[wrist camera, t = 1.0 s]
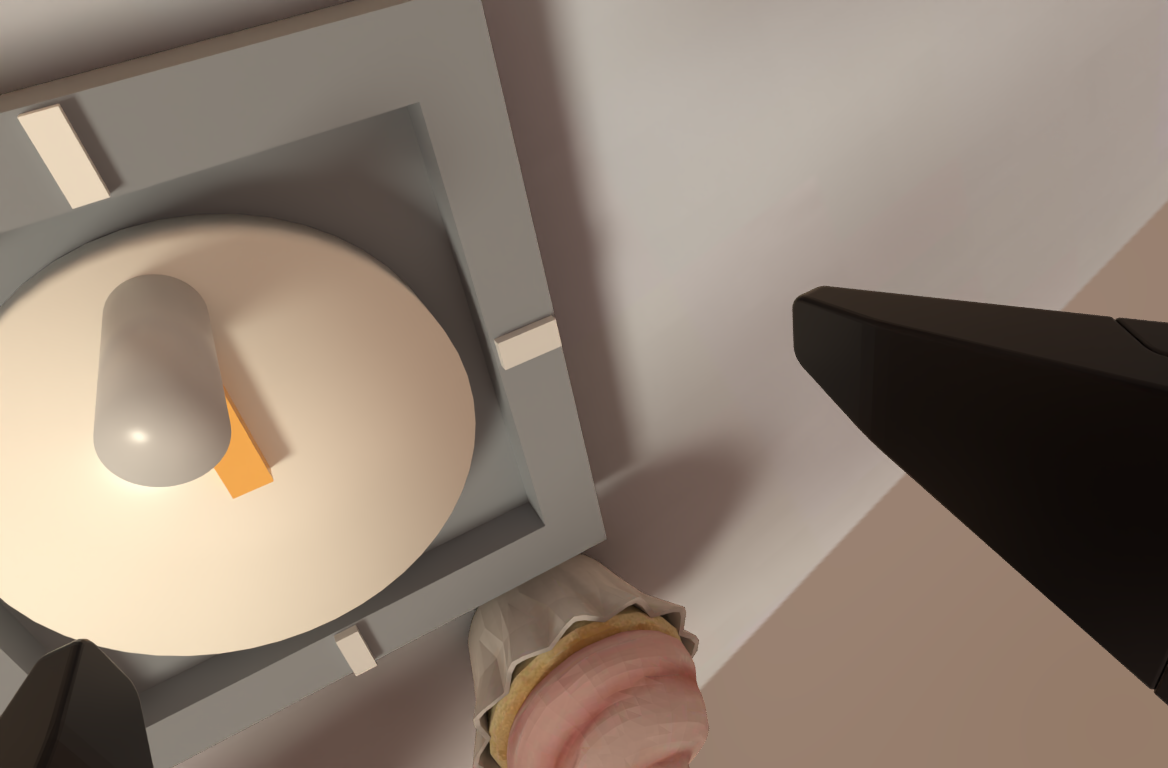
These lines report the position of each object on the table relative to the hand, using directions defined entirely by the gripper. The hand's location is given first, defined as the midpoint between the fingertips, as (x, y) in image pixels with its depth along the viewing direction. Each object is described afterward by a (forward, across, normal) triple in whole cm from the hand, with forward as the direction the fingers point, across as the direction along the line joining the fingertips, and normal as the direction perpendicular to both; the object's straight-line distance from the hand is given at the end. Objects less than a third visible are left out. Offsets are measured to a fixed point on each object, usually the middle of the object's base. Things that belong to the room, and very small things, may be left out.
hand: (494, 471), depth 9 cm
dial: (+12, +4, +5) cm, 14 cm away
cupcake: (+14, -2, +19) cm, 24 cm away
